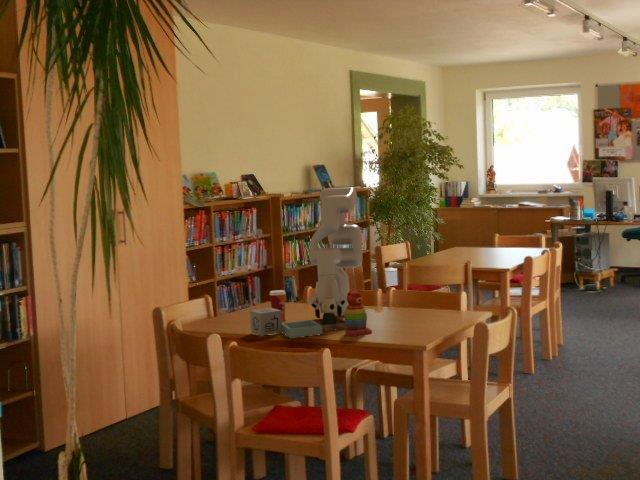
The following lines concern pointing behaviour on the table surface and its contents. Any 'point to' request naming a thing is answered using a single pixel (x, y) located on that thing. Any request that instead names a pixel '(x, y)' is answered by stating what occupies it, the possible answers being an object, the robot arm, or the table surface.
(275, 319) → the icon cube
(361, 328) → the stacking bear
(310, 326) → the bin
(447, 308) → the table surface
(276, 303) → the paper cup
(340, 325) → the walnut corral
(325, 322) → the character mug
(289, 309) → the table surface
